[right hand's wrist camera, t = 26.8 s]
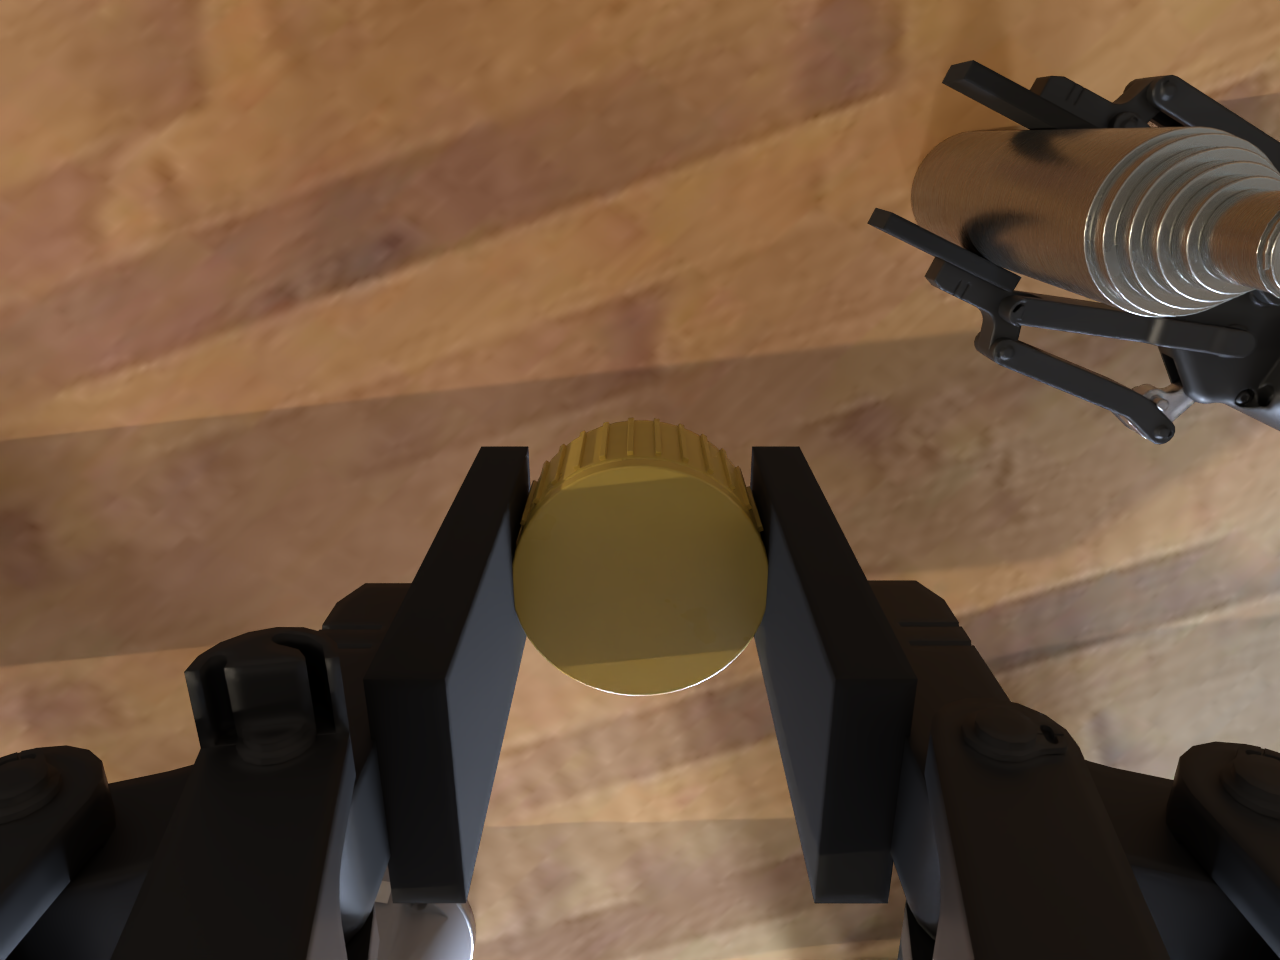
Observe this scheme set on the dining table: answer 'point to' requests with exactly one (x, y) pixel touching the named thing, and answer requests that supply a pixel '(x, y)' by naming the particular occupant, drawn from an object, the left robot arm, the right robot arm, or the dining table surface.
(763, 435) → the dining table surface
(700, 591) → the cap
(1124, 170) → the bottle
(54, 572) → the dining table surface
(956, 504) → the dining table surface
